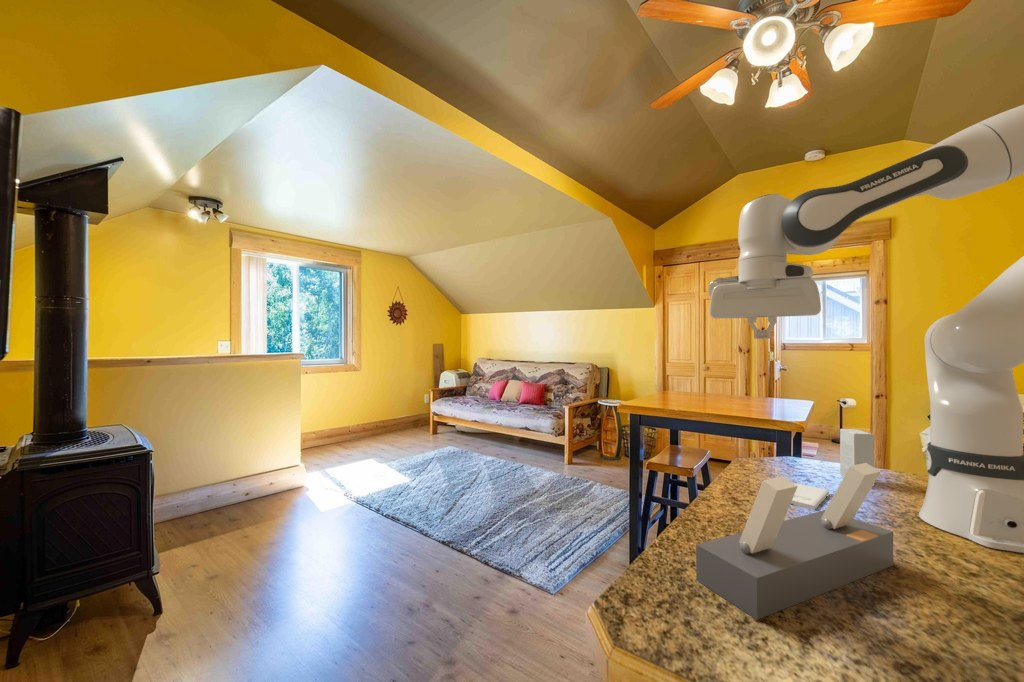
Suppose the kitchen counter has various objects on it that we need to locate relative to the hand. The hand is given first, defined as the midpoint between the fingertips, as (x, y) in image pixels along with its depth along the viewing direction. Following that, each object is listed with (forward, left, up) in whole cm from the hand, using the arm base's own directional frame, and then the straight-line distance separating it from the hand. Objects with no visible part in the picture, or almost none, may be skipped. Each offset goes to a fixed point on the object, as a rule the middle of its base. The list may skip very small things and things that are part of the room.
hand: (762, 338), depth 88 cm
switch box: (-7, +30, -34) cm, 46 cm away
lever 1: (-2, +38, -28) cm, 47 cm away
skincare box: (-17, -26, -34) cm, 46 cm away
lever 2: (-11, +22, -28) cm, 38 cm away
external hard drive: (-6, -6, -35) cm, 36 cm away
